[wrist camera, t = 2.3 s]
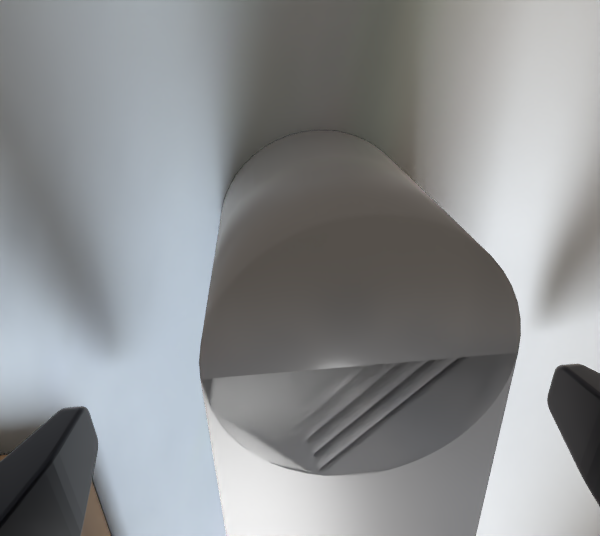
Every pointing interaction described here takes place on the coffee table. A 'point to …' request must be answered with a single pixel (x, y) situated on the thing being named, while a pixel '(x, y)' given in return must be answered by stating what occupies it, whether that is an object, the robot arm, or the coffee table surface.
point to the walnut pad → (91, 515)
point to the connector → (351, 349)
